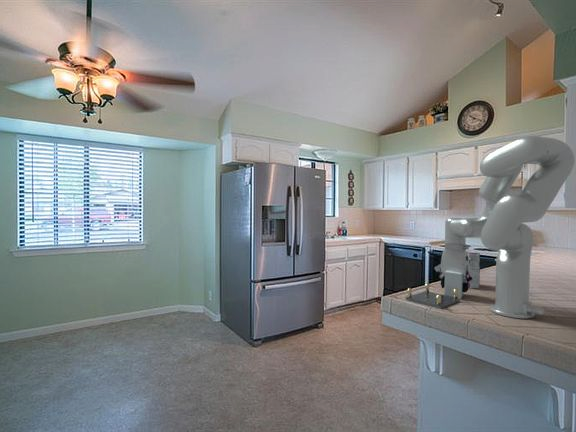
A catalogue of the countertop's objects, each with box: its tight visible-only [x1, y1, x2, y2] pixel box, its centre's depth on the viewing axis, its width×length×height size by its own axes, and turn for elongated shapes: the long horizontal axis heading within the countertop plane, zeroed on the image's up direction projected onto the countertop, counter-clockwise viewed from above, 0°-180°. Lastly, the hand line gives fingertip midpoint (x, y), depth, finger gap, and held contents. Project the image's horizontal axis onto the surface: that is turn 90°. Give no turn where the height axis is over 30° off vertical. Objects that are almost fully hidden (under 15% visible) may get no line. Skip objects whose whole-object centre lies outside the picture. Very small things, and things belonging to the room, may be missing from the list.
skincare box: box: [443, 270, 464, 300], centre depth 130 cm, size 10×6×10 cm, turn 146°
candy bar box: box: [465, 249, 481, 290], centre depth 146 cm, size 11×5×16 cm, turn 179°
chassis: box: [405, 282, 461, 310], centre depth 123 cm, size 14×15×4 cm
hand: (454, 289), depth 130 cm, fingers closed on skincare box, 7 cm apart
